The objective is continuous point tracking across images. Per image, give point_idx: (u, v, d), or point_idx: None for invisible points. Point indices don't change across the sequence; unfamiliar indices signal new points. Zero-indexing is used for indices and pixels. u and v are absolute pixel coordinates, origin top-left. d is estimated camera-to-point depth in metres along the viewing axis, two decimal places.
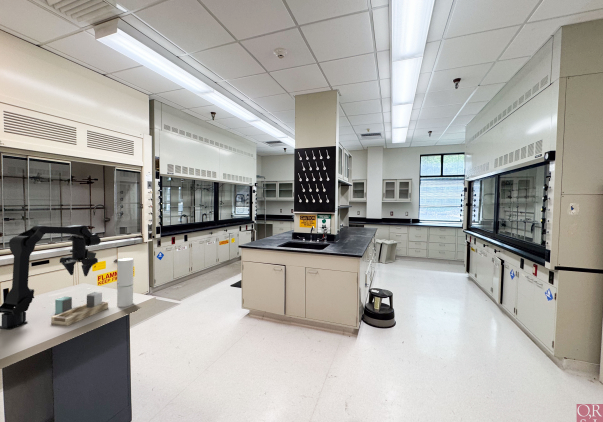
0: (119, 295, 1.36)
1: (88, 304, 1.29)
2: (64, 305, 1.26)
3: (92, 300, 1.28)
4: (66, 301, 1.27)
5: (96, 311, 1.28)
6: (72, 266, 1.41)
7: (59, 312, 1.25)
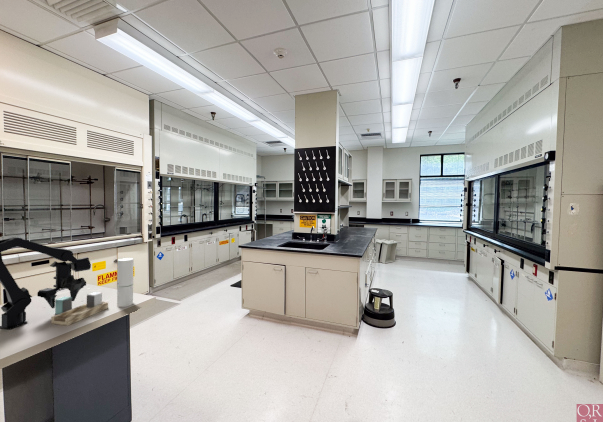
0: (119, 295, 1.36)
1: (88, 304, 1.29)
2: (64, 305, 1.26)
3: (92, 300, 1.28)
4: (66, 301, 1.27)
5: (96, 311, 1.28)
6: (74, 292, 1.32)
7: (59, 312, 1.25)
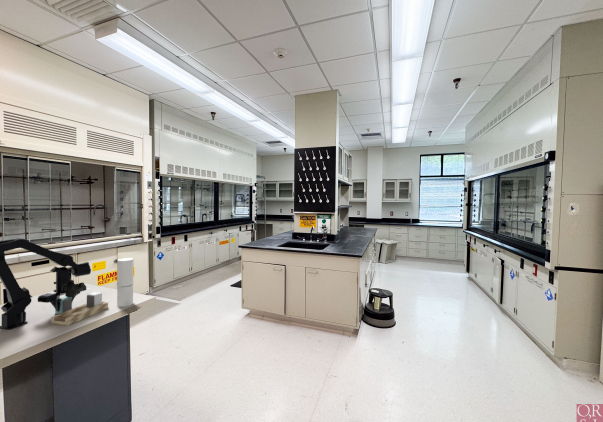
0: (119, 295, 1.36)
1: (88, 304, 1.29)
2: (64, 305, 1.26)
3: (92, 300, 1.28)
4: (66, 301, 1.27)
5: (96, 311, 1.28)
6: None
7: (59, 312, 1.25)
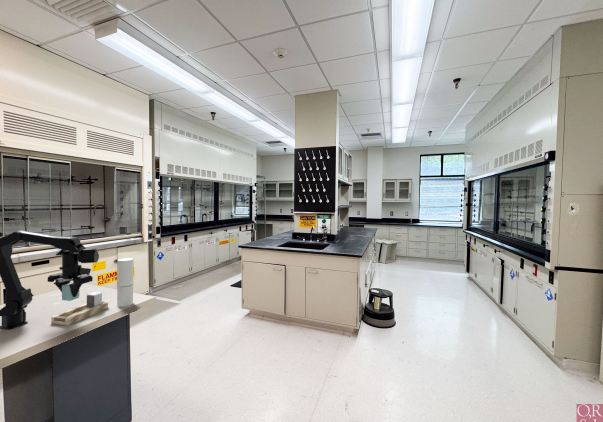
0: (119, 295, 1.36)
1: (88, 304, 1.29)
2: None
3: (92, 300, 1.28)
4: None
5: (96, 311, 1.28)
6: None
7: (75, 297, 1.20)
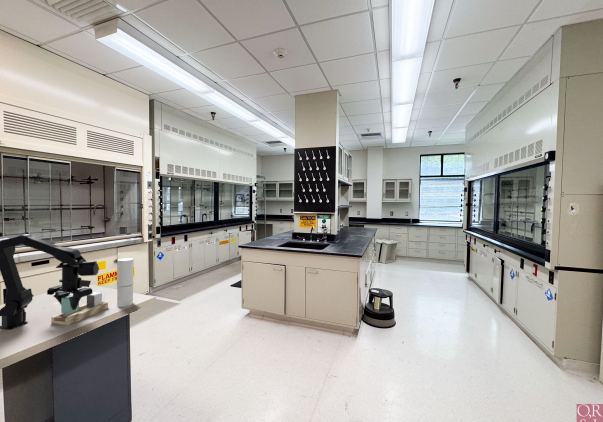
0: (119, 295, 1.36)
1: (88, 304, 1.29)
2: None
3: (92, 300, 1.28)
4: None
5: (96, 311, 1.28)
6: None
7: (75, 310, 1.19)
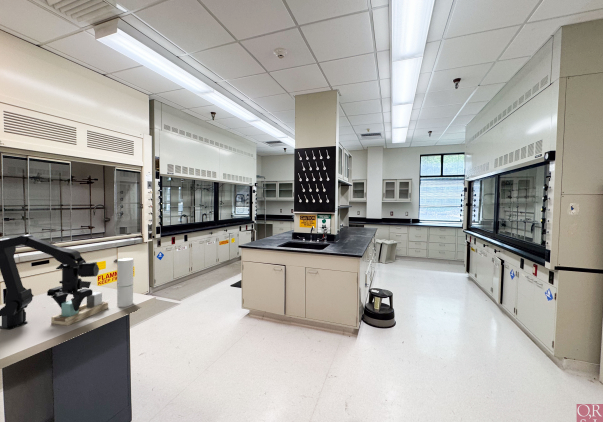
0: (119, 295, 1.36)
1: (88, 304, 1.29)
2: None
3: (92, 300, 1.28)
4: None
5: (96, 311, 1.28)
6: (64, 299, 1.20)
7: None
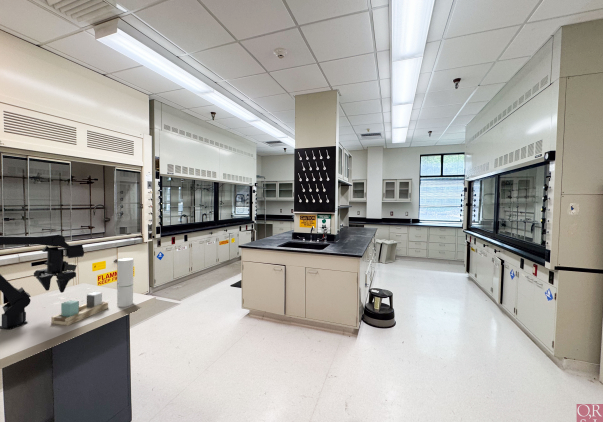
0: (119, 295, 1.36)
1: (88, 304, 1.29)
2: None
3: (92, 300, 1.28)
4: None
5: (96, 311, 1.28)
6: (48, 280, 1.25)
7: None
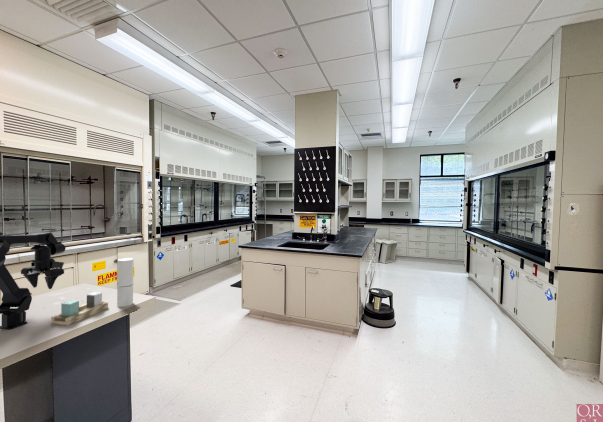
0: (119, 295, 1.36)
1: (88, 304, 1.29)
2: None
3: (92, 300, 1.28)
4: None
5: (96, 311, 1.28)
6: (36, 277, 1.28)
7: None
